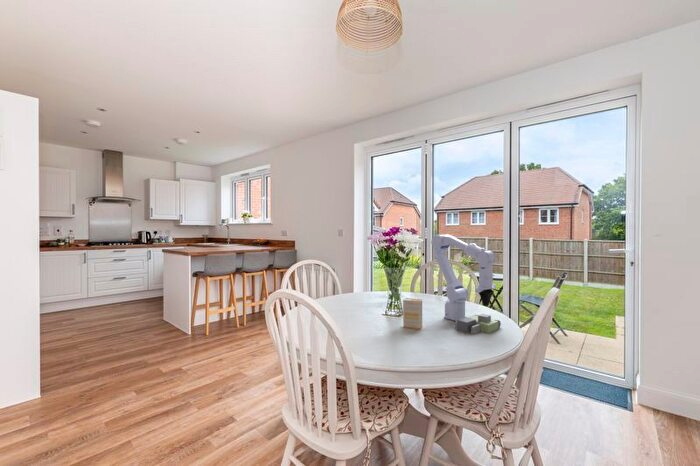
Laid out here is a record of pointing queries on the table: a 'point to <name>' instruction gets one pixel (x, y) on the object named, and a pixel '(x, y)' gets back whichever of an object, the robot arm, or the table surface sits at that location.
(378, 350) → the table surface
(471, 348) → the table surface
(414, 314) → the supplement box
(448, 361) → the table surface
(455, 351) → the table surface
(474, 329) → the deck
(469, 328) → the grey block
